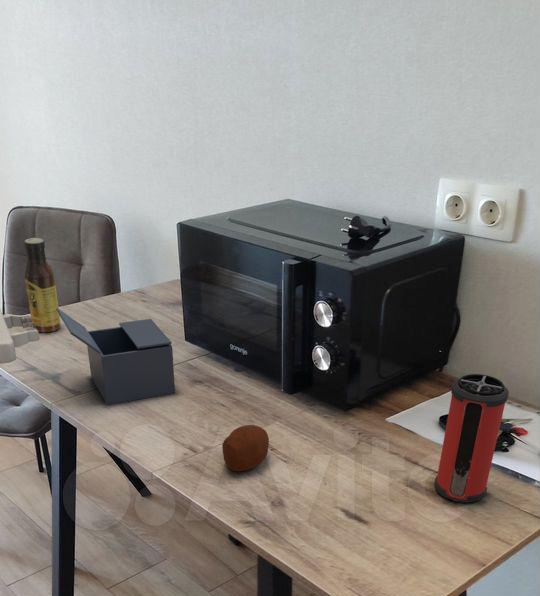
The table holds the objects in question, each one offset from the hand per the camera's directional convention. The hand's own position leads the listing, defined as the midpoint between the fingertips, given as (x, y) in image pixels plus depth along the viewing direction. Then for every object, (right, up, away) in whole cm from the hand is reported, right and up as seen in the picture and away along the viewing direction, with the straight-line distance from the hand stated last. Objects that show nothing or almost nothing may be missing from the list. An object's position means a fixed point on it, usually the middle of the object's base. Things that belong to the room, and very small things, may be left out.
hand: (35, 327), depth 123 cm
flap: (+7, 0, +4) cm, 8 cm away
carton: (+14, -8, +13) cm, 21 cm away
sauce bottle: (-10, +8, +37) cm, 39 cm away
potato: (+37, -24, -10) cm, 45 cm away
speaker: (+70, -28, -15) cm, 77 cm away
